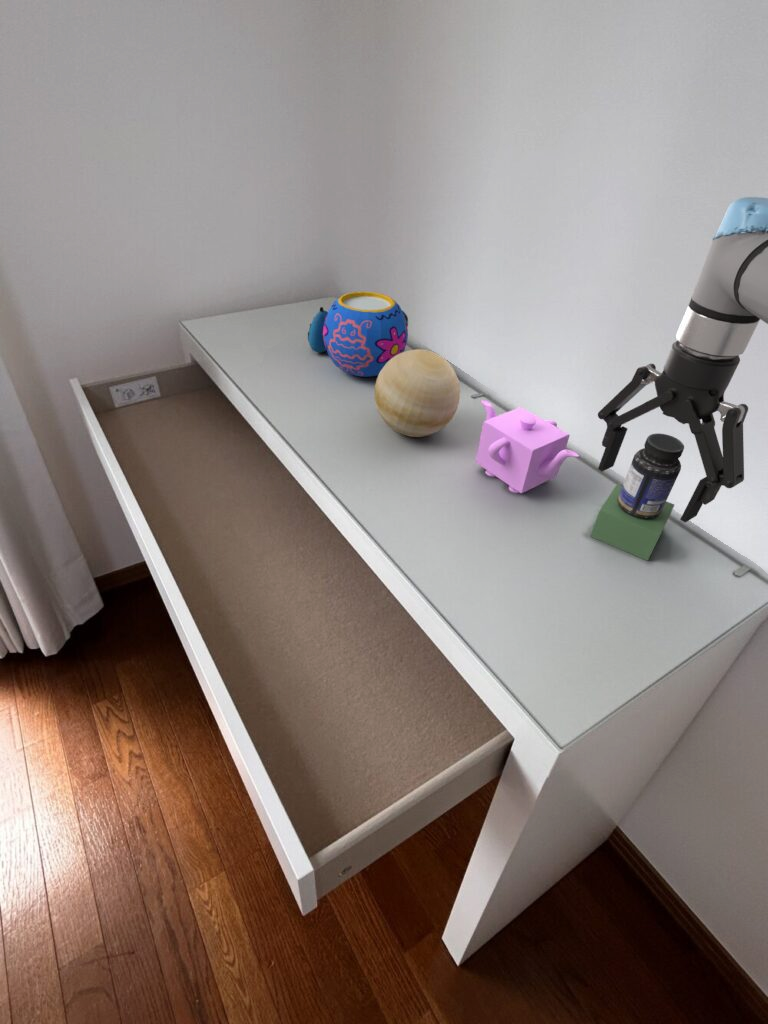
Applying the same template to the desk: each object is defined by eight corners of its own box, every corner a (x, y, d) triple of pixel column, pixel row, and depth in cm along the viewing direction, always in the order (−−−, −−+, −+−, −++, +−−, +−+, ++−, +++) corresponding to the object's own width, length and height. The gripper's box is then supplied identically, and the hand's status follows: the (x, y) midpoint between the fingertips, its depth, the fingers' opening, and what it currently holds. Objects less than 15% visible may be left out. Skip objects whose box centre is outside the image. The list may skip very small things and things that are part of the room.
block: (662, 530, 86) (674, 504, 83) (647, 560, 81) (660, 534, 78) (607, 508, 90) (617, 482, 87) (589, 536, 84) (599, 510, 81)
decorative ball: (402, 402, 113) (409, 328, 103) (468, 428, 106) (482, 352, 97) (355, 432, 103) (358, 353, 93) (425, 463, 97) (435, 382, 87)
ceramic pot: (416, 364, 127) (423, 296, 117) (384, 397, 114) (389, 323, 104) (346, 347, 132) (347, 280, 122) (308, 377, 119) (306, 305, 109)
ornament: (322, 342, 133) (322, 299, 127) (339, 347, 131) (340, 303, 125) (302, 354, 127) (301, 310, 121) (320, 359, 126) (319, 315, 119)
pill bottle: (664, 504, 83) (694, 440, 76) (655, 526, 79) (686, 460, 72) (621, 489, 85) (647, 425, 78) (610, 509, 81) (637, 444, 74)
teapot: (465, 491, 91) (476, 432, 84) (472, 447, 101) (482, 392, 95) (561, 507, 89) (581, 449, 82) (558, 461, 100) (575, 406, 93)
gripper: (833, 383, 61) (743, 531, 75) (636, 308, 76) (591, 443, 90) (801, 399, 58) (712, 552, 71) (601, 317, 73) (559, 456, 86)
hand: (644, 491), depth 80 cm, fingers open, 13 cm apart
